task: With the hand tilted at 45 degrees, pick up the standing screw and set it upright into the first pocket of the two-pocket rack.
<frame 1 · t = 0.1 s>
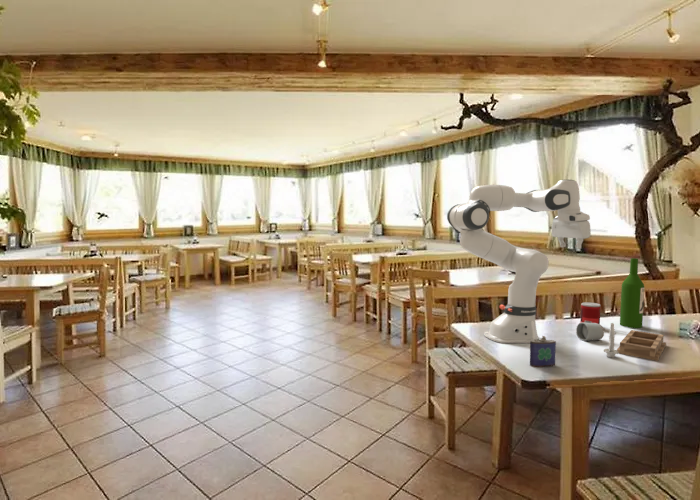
hand: (570, 247, 182), 39 cm above the table, tool pointing down, fingers open, 8 cm apart
ceramic mug: (587, 339, 178), on the table
canned food: (589, 327, 197), on the table
screw: (610, 357, 155), on the table
rack: (641, 349, 164), on the table
wine bottle: (630, 326, 198), on the table
flask: (542, 366, 147), on the table
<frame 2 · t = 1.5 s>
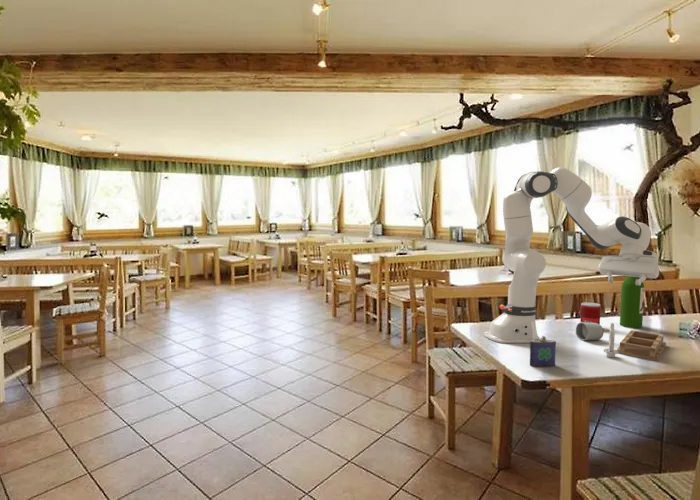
hand: (623, 283, 163), 26 cm above the table, tool tilted 45°, fingers open, 8 cm apart
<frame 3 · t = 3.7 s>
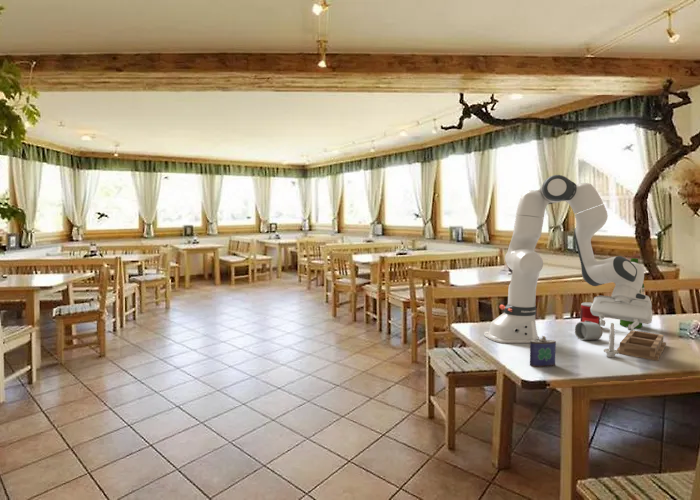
hand: (615, 327, 157), 10 cm above the table, tool tilted 45°, fingers open, 8 cm apart
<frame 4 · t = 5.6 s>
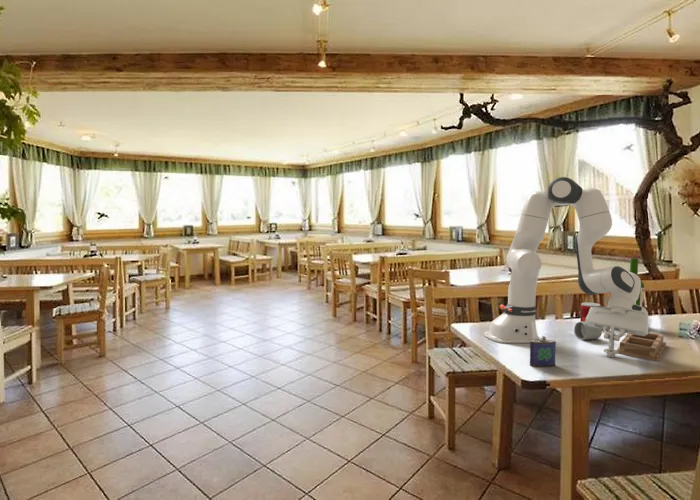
hand: (611, 339, 154), 7 cm above the table, tool tilted 45°, fingers closed on screw, 2 cm apart
screw: (610, 357, 155), on the table, touching gripper
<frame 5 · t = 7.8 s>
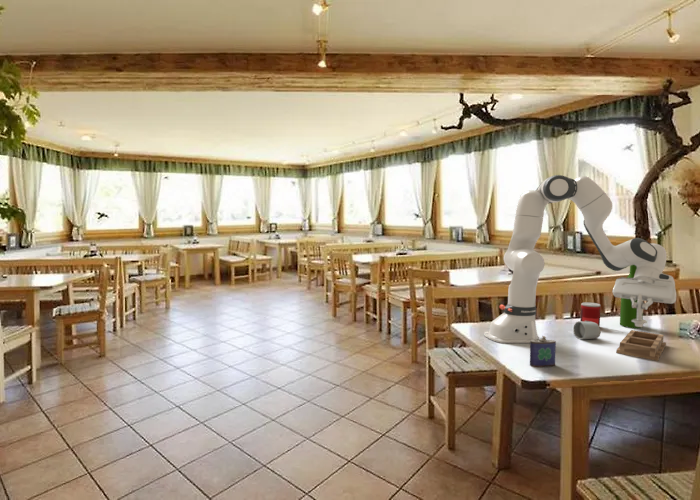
hand: (639, 307, 157), 18 cm above the table, tool tilted 45°, fingers closed on screw
screw: (638, 326, 158), point 10 cm above the table, touching gripper
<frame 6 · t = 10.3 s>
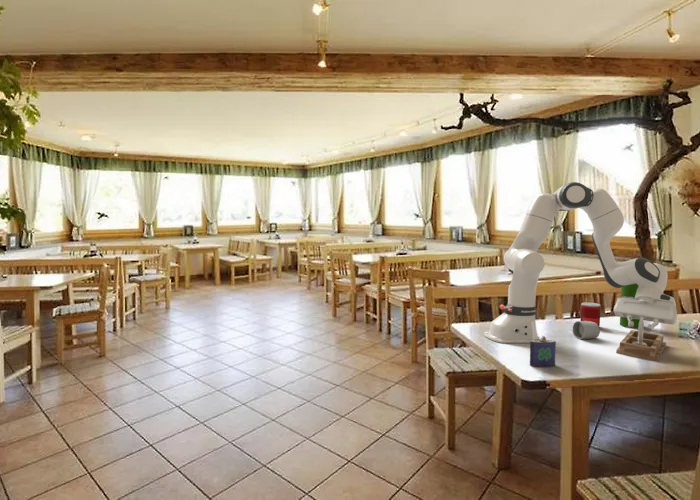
hand: (640, 327, 159), 10 cm above the table, tool tilted 45°, fingers open, 5 cm apart
screw: (639, 349, 160), point 1 cm above the table, touching rack
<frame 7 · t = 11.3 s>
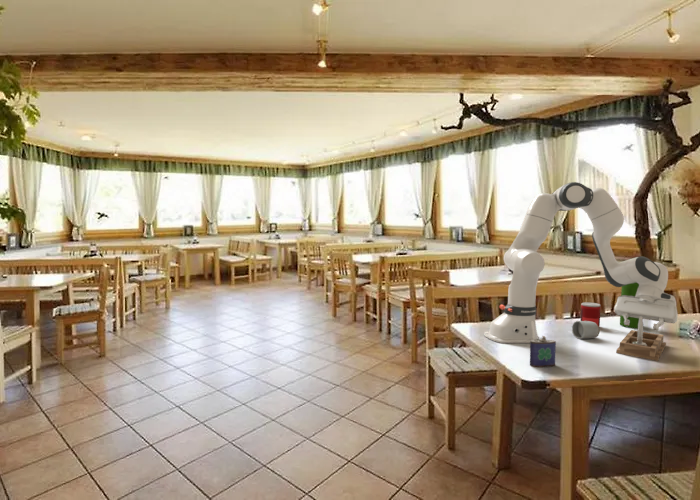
hand: (640, 326, 159), 10 cm above the table, tool tilted 45°, fingers open, 8 cm apart
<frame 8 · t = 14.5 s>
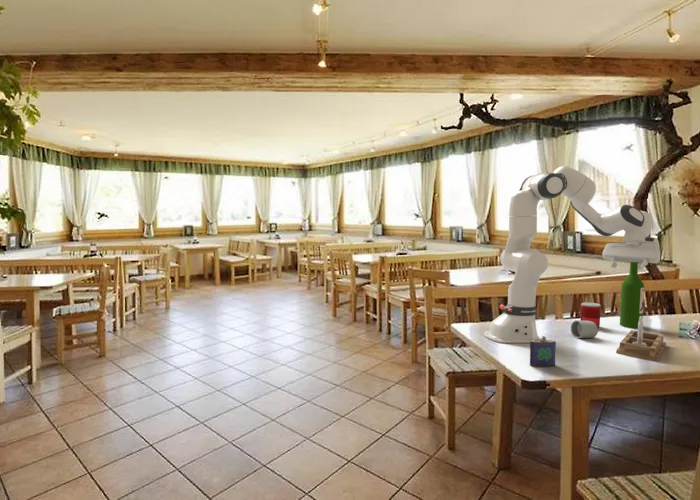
hand: (626, 267, 171), 31 cm above the table, tool tilted 45°, fingers open, 8 cm apart
at the end: screw inside the target area (0.1 cm from its centre), point 1.1 cm above the table; screw tilted 0° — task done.
